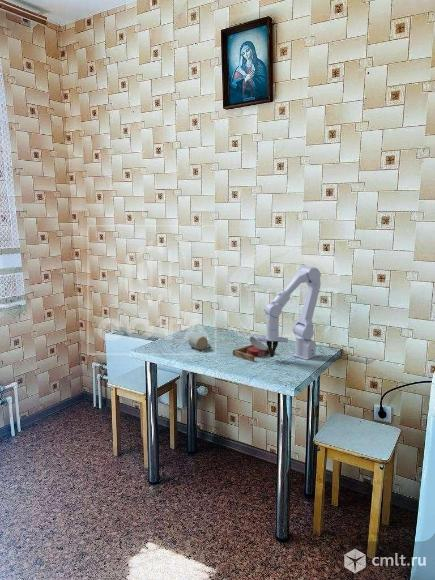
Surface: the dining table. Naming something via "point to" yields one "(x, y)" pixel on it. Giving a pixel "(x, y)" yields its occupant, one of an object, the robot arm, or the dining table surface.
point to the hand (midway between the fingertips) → (272, 356)
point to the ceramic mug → (198, 341)
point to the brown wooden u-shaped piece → (242, 354)
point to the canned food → (256, 348)
